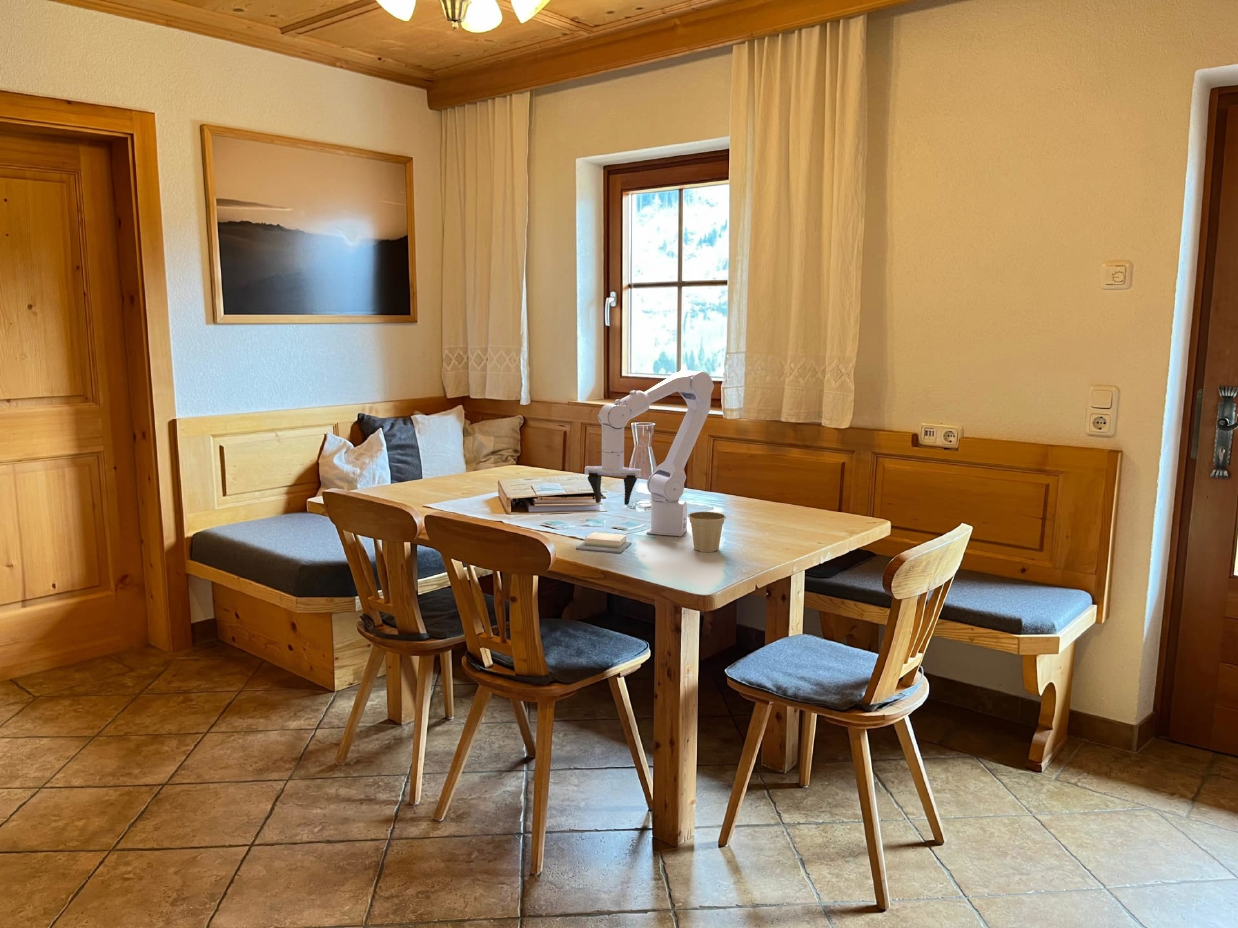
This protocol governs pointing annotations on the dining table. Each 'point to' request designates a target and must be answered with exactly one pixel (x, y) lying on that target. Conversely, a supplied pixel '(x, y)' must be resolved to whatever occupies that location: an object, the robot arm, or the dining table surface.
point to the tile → (605, 539)
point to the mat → (604, 548)
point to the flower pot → (706, 530)
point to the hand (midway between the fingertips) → (612, 503)
